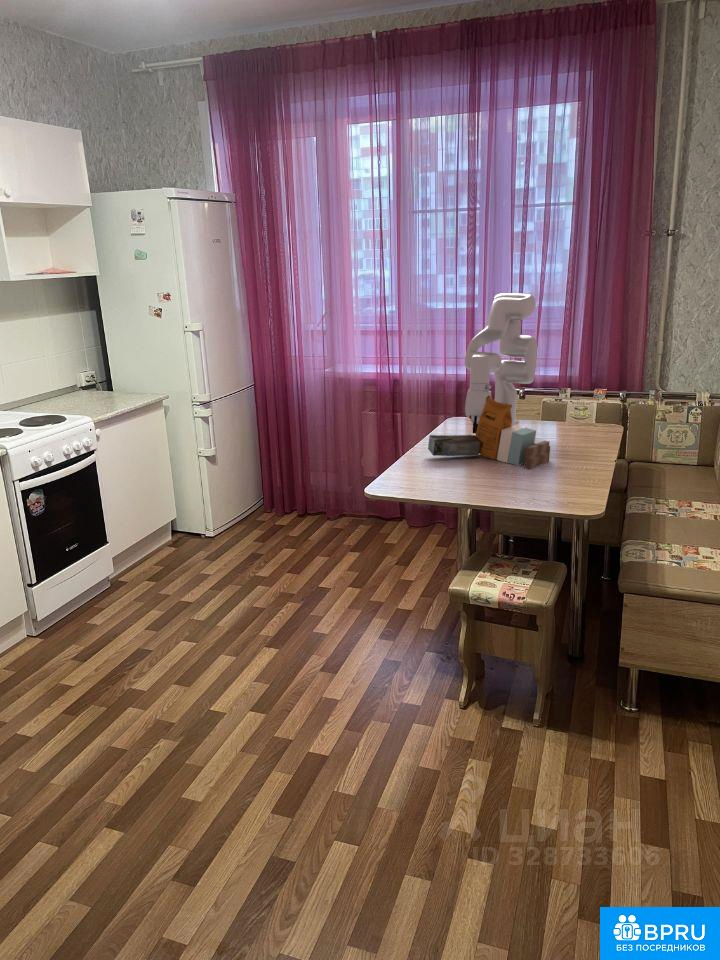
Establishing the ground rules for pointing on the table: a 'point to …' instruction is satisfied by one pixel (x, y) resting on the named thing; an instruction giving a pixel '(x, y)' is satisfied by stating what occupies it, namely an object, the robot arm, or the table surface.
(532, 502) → the table surface
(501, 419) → the coffee package
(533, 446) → the brown patterned block
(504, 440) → the book cream
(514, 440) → the book teal
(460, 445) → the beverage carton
